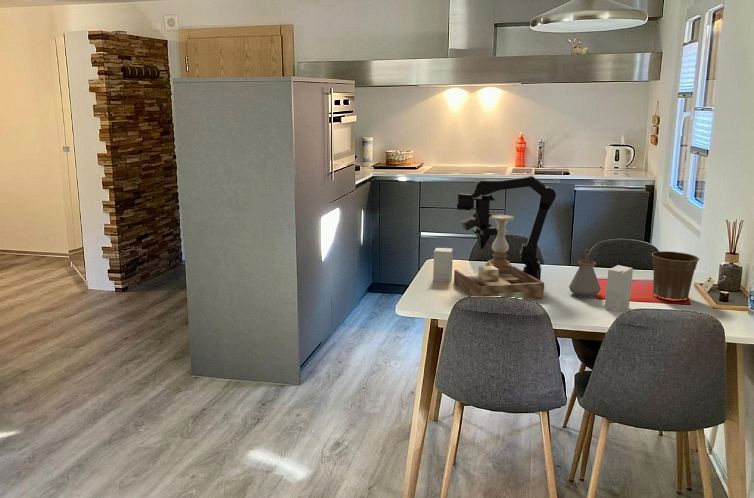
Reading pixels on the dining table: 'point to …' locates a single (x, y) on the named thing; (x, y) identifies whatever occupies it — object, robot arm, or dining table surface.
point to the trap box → (501, 285)
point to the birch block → (488, 272)
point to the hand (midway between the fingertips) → (481, 248)
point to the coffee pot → (585, 279)
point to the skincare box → (618, 288)
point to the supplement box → (443, 264)
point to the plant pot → (673, 274)
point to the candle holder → (500, 245)
